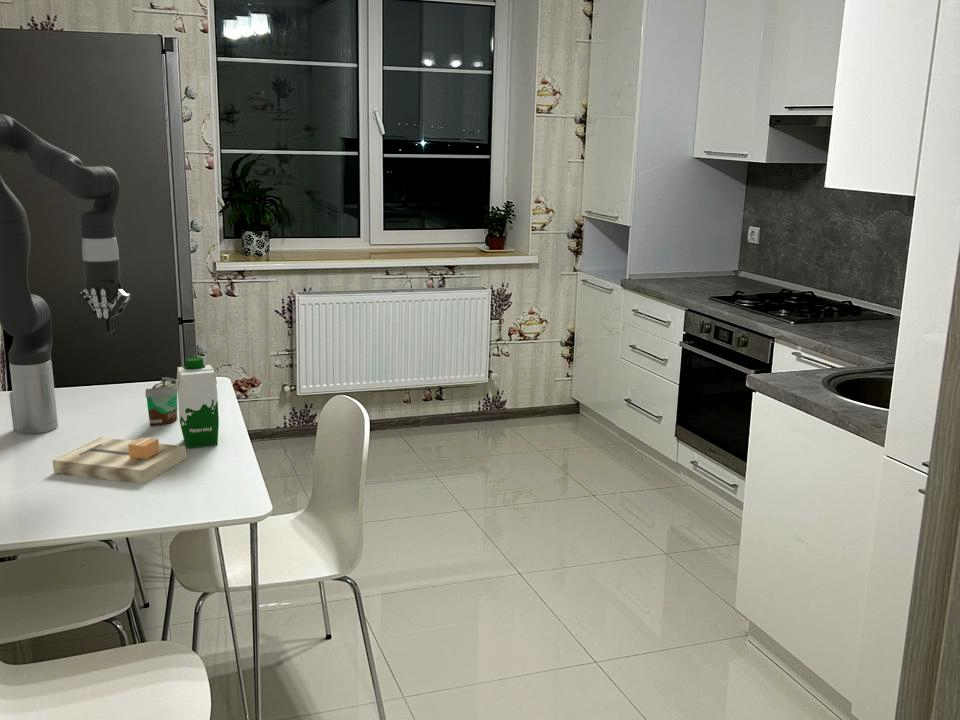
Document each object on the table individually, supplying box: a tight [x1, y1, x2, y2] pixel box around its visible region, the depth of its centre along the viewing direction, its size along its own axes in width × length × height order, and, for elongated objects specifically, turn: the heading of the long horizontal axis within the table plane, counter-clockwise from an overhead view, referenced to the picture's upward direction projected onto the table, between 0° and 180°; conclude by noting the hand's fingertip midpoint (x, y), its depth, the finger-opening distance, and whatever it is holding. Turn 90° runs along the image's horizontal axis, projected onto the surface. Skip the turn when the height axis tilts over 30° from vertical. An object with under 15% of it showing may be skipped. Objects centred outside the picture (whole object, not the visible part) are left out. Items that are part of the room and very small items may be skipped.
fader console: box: [52, 437, 187, 485], centre depth 200 cm, size 22×16×3 cm
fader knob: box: [128, 437, 160, 459], centre depth 198 cm, size 4×5×3 cm
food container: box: [144, 376, 178, 427], centre depth 232 cm, size 12×6×10 cm, turn 179°
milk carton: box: [176, 356, 220, 449], centre depth 214 cm, size 9×9×20 cm
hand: (107, 333), depth 207 cm, fingers closed
